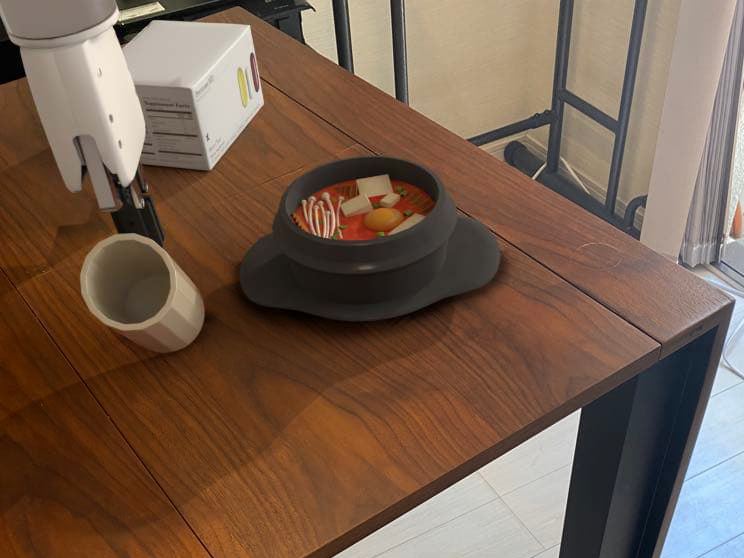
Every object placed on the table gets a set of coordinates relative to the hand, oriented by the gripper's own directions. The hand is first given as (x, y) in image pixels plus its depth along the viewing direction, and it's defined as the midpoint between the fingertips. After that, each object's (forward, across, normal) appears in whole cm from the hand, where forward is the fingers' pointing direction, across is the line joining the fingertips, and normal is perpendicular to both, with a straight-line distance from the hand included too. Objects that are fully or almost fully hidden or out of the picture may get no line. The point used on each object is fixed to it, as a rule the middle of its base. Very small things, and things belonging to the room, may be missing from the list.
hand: (145, 245), depth 70 cm
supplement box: (+9, -39, -2) cm, 40 cm away
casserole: (+10, -6, +18) cm, 22 cm away
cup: (+7, 0, -1) cm, 7 cm away
